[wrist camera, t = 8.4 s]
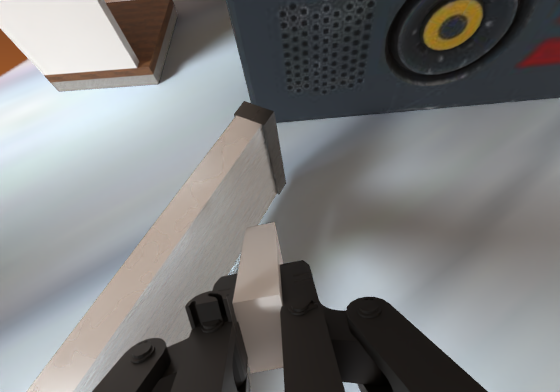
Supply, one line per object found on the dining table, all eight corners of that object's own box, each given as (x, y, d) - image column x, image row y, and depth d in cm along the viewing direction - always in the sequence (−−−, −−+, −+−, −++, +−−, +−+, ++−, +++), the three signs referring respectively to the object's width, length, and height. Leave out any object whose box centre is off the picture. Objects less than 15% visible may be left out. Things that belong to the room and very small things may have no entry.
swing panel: (63, 550, 14) (-127, 683, 8) (37, 522, 15) (-159, 627, 9) (286, 183, 22) (274, 111, 16) (263, 173, 23) (244, 101, 17)
